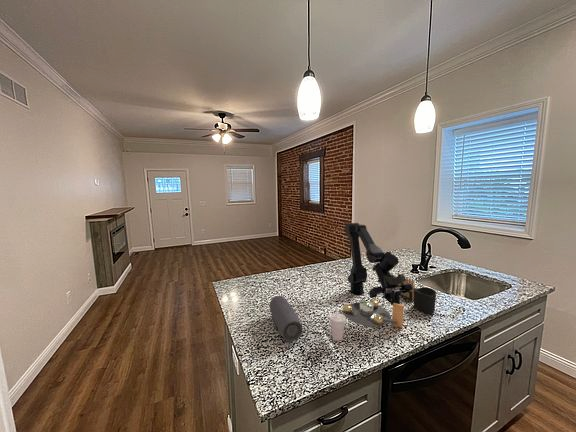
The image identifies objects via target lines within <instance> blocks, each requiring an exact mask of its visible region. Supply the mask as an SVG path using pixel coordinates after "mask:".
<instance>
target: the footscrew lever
mask: <svg viewBox="0 0 576 432" xmlns="http://www.w3.org/2000/svg"><path fill="white" fill-rule="evenodd" d="M404 310H405V306H404V304H401V303H400V304H396V303H393V305H392V316H391V319H388V318H383V317H382V316H381V315H374V317H373V322H374V324H376V325H382V326H384V325H383V322H387V324H392V325H391V326H392V327H395V328H400V329H403V328H404Z"/></svg>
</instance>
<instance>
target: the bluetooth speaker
mask: <svg viewBox="0 0 576 432" xmlns="http://www.w3.org/2000/svg"><path fill="white" fill-rule="evenodd" d="M269 311H270V314H271V316H272V320H273V322H274V324H275V326H276V328H277V329H278V332H279V333H280V335H281V336H282V338H283V339H284V340H285V341H287V342H294V341H297V340H299V338H301V336H302V334H303V331H304V330H303V329H304V328H303V325H302V322H301V321H300V318H299V317H298V315H297V314H296V312H295V310H294V308H293V307H292V305H291V304H290V303H289V301H288V300H287V299H286V298H285V297H283V296H282V295H275V296H274V297H272V298H271V300H270V302H269Z"/></svg>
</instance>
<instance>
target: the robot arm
mask: <svg viewBox="0 0 576 432" xmlns="http://www.w3.org/2000/svg"><path fill="white" fill-rule="evenodd" d="M344 231H345V234H346V236H347V238H348V239H349V245H350V252H351V261H352V265H351V268H350V274H349V275H348V276H347V281H348V283H350V287H349V288H350V290H348V293H349V294H353V295H355V296H360V295H363V294H365V291H364V283H366V282H367V279H368V273H367V272H368V271H367V268H366V267H365V266H364V264H363V261H362V255H361V254H362V253H361V246H360V240H361V242H362V244H363V246H364V248H365V250H366V253H365V255H366V259H367V261H368V262H369V263H370V264H373V265H372V267H371V268H372V271H375V273H376V276H377V279H378V280H377V282H378V283H379V284H380V286H374V287H372V288H371V289H370V290H369V291H368V295H369V298H370V299H372V298H373V299H374V298H377V297H378V295H380V294H381V295H383V296H382V297H381V298H382V299H385V300H386V301H387V302H388V303H390V305H391V306H393V303H396V304H401V301H400V300H401V299H400V297H401V296H400V294H404V293H407V292H409V291H410V290H412V289H413V287H412V285H411V284H410V283H404V284H403V281H406V276H404V273H399V274H398V273H397V276H395V275H394V274H391V272H390V271H392V270H393V269H394V268H395V267H396V266H397V265H398V264H399V258H398V257H397V256H396V255H395V254H393V253H391V251H386V252H384V251H383V250H382V249H381V247H379V246H378V245H376V244H375V242H374V240H373V238H372V236H371V235H370V233H369V231H368V229H367V226H366V224H360V223H358V222H348V223H346V225H345V226H344ZM399 284H401V285H400V286H399V287H396V286H398V285H399Z"/></svg>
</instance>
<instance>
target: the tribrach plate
mask: <svg viewBox="0 0 576 432" xmlns="http://www.w3.org/2000/svg"><path fill="white" fill-rule="evenodd" d="M342 314H343V315H344V316H345V317H346V319H348V320H349V321H351V322H353V323H355V324H357V325H360V326H365V327H381V326H382V327H383V326H385V325H386V324H388V323H387V322H383V325H376V324H374V322H373V317H374V315H381V316H382V317H383V318H388V319H392V316H391V313H390V311H387V309H385V308H384V307H382V306H379V301H378V300H376V299H370V300H369V301H366V300H363V301H360V302H352V303H349V304H348V303H345V304H343V305H342Z"/></svg>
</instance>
